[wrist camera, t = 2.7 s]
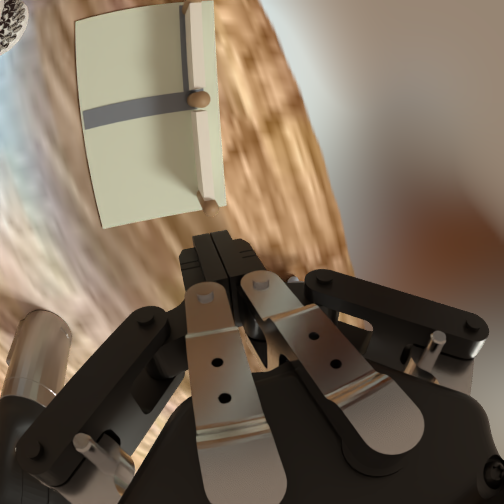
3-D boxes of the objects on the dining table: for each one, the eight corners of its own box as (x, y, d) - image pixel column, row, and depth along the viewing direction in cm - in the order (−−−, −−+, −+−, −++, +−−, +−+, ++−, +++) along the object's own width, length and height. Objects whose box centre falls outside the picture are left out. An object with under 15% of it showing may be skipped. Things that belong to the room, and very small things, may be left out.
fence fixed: (187, 107, 33) (193, 108, 27) (181, 5, 26) (187, -13, 20) (201, 106, 33) (211, 107, 28) (196, 4, 26) (204, -14, 21)
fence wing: (188, 111, 32) (193, 112, 28) (203, 109, 33) (211, 110, 28) (197, 202, 38) (204, 217, 34) (211, 199, 39) (219, 215, 34)
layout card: (103, 228, 36) (103, 229, 36) (76, 22, 22) (75, 21, 22) (226, 204, 41) (226, 205, 40) (213, 1, 27) (213, 0, 26)
